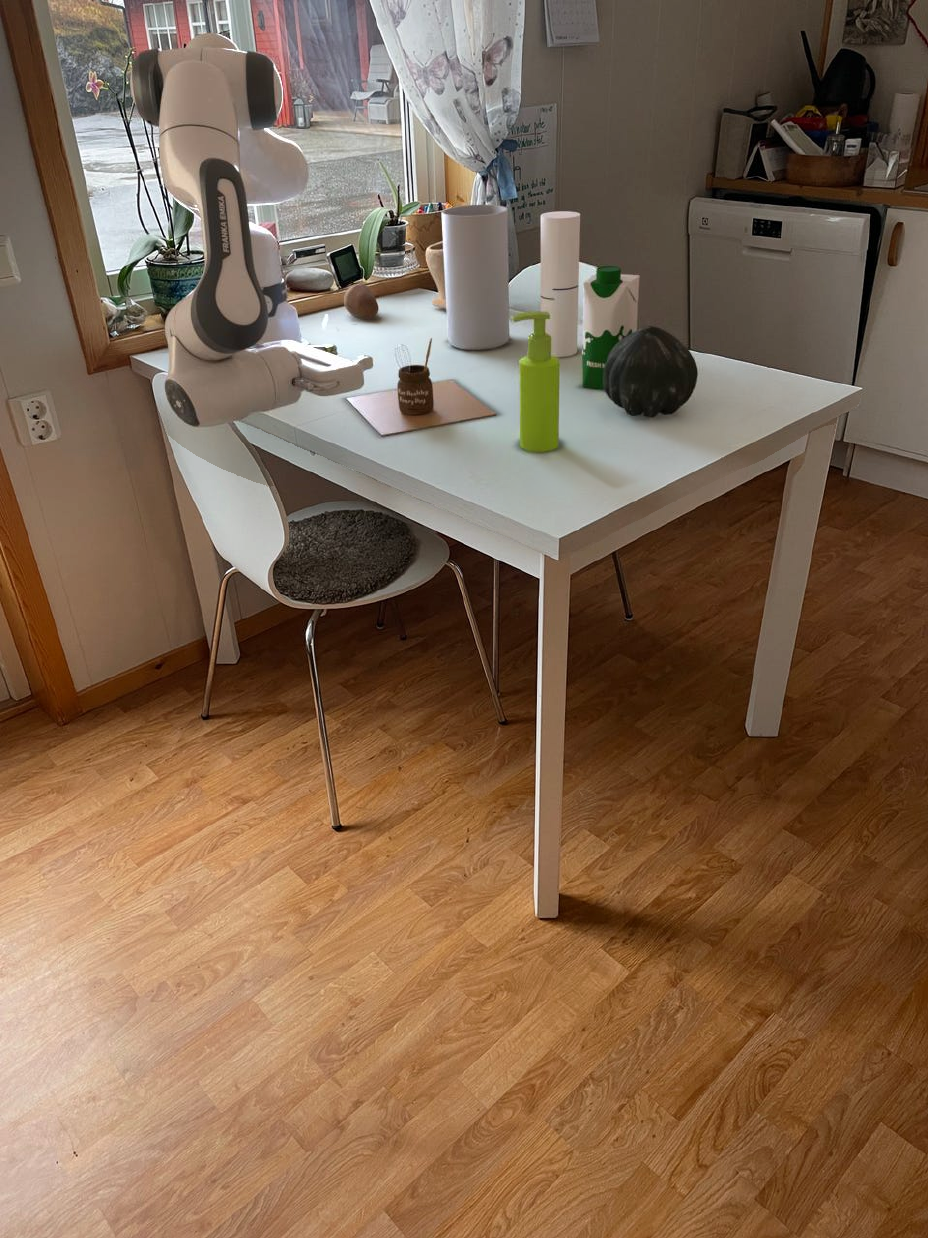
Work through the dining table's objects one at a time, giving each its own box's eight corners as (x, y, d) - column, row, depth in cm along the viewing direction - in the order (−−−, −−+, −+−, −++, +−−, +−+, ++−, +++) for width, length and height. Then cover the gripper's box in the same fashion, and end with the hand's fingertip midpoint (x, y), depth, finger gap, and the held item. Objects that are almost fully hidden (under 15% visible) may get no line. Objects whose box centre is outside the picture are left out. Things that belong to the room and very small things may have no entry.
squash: (670, 354, 165) (627, 297, 155) (728, 381, 154) (685, 321, 144) (615, 419, 166) (569, 366, 156) (669, 450, 155) (622, 395, 145)
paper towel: (346, 399, 169) (346, 398, 169) (451, 380, 175) (451, 379, 175) (381, 436, 153) (381, 435, 153) (496, 414, 159) (496, 413, 159)
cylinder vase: (520, 337, 196) (519, 206, 183) (489, 354, 188) (485, 217, 174) (469, 330, 202) (464, 203, 189) (436, 346, 194) (428, 213, 180)
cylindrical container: (575, 357, 184) (578, 218, 170) (538, 356, 185) (538, 218, 172) (578, 346, 190) (582, 210, 176) (542, 345, 191) (543, 211, 178)
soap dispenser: (511, 439, 150) (509, 309, 139) (555, 436, 150) (556, 306, 139) (516, 453, 145) (514, 319, 134) (561, 450, 145) (563, 316, 134)
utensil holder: (402, 403, 165) (396, 333, 159) (438, 404, 164) (434, 333, 158) (395, 416, 160) (389, 344, 154) (432, 416, 159) (428, 344, 153)
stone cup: (418, 309, 219) (414, 240, 211) (459, 299, 225) (456, 231, 217) (459, 321, 208) (456, 249, 200) (501, 311, 214) (499, 240, 207)
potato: (360, 323, 210) (357, 291, 207) (336, 315, 218) (332, 283, 214) (387, 317, 214) (384, 285, 210) (362, 309, 221) (359, 277, 217)
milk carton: (576, 388, 169) (578, 270, 158) (592, 372, 175) (595, 258, 165) (624, 393, 165) (630, 273, 155) (639, 377, 172) (645, 261, 161)
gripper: (312, 369, 133) (391, 347, 140) (237, 342, 146) (313, 323, 154) (318, 413, 136) (394, 389, 144) (244, 383, 149) (317, 362, 157)
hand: (352, 355), depth 149 cm, fingers open, 8 cm apart
